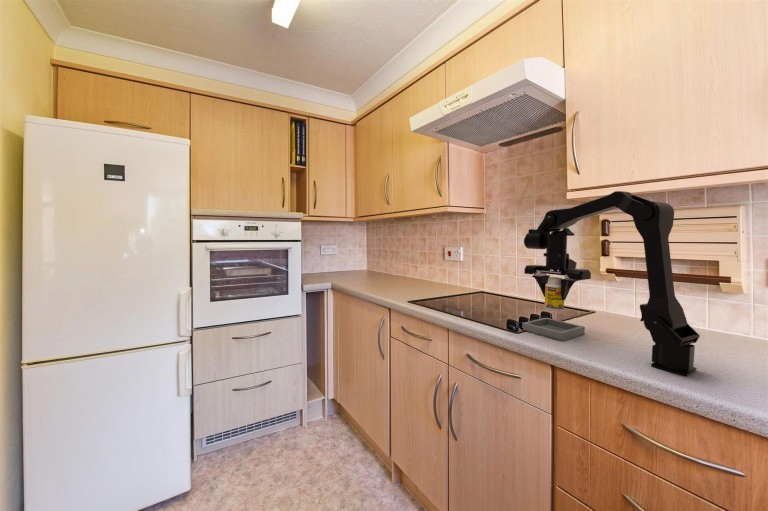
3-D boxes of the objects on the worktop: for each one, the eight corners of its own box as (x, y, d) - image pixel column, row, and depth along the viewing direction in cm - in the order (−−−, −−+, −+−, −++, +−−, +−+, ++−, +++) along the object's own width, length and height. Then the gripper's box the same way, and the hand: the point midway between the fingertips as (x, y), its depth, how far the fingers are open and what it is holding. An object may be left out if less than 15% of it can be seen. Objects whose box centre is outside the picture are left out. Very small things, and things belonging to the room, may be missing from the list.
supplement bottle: (544, 310, 101) (545, 278, 100) (544, 306, 106) (545, 276, 105) (564, 312, 98) (565, 279, 97) (564, 308, 103) (565, 277, 102)
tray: (584, 334, 100) (584, 326, 100) (561, 341, 94) (561, 333, 93) (545, 324, 111) (545, 317, 111) (522, 330, 105) (522, 322, 105)
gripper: (601, 250, 97) (598, 301, 98) (543, 248, 113) (542, 291, 114) (581, 251, 91) (579, 305, 92) (524, 249, 107) (522, 294, 108)
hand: (554, 298), depth 102 cm, fingers closed on supplement bottle, 5 cm apart
